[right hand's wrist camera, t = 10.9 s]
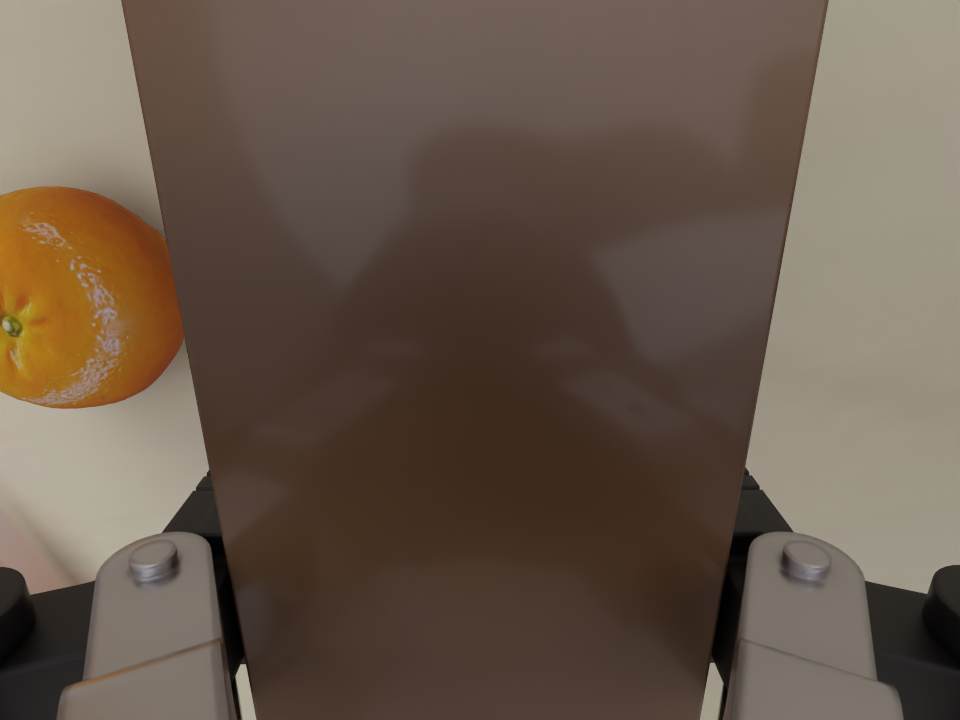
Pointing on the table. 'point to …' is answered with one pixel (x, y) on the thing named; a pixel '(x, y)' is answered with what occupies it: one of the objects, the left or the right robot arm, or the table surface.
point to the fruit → (82, 299)
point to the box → (476, 332)
